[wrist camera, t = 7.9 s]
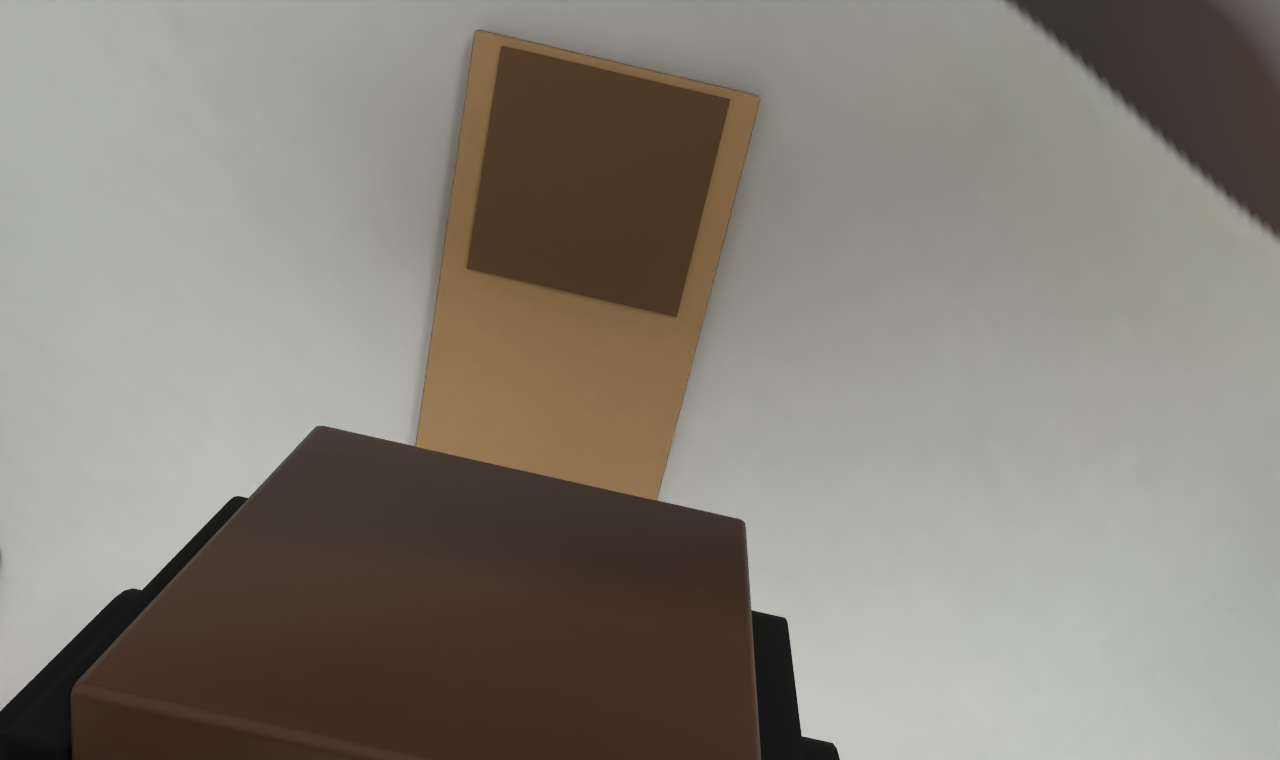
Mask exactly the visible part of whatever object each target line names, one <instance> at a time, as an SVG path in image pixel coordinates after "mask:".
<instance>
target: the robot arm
mask: <svg viewBox="0 0 1280 760" xmlns="http://www.w3.org/2000/svg"><path fill="white" fill-rule="evenodd" d="M247 499H248V498H245V497H240V496H236V497H233V498H232V499H231V500H229V501H228V502H227V503H226V505H225V506H224V507H223V508H222V509H221V510H220V511H219V512H218V513H217V514H216V515H215V516H214V517H213V518H212V519H211V520H210V521H209V522H208V523H207V524H206V525H205V526H204V527H203V528H202V529H201V530H200V531H199V532H198V533H197V534H196V535H195V536H194V537H193V538H192V539H191V540H190V541H189V543H188V544H187V545H186V546H185V547H184V548H183V549H182V550H181V551H180V552H179V553H178V554H177V555H176V556H175V557H174V558H173V559H172V560H171V561H170V562H169V563H168V564H167V565H166V566H165V567H164V568H163V569H162V570H161V571H160V572H159V573H158V574H157V575H156V576H155V577H154V578H153V580H152V581H151V582H150V583H149V584H148V585H147V586H146V587H145V588H144V589H143V590H138V589H129V590H125V591H123V592H122V593H121V594H119V595H118V596H117V597H115V598H114V599H113V600H112V601H111V602H110V603H109V604H108V605H107V606H106V607H105V608H104V609H103V610H102V611H101V612H100V613H99V614H98V615H97V616H96V617H95V618H94V619H93V620H92V621H91V622H90V623H89V624H88V625H87V626H86V627H85V628H84V629H83V630H82V631H81V632H80V633H79V634H78V635H77V636H76V637H75V638H74V639H73V640H72V641H71V642H70V643H69V644H68V645H67V646H66V647H65V648H64V649H63V650H62V651H61V652H60V653H59V654H58V655H57V656H56V657H55V658H54V659H53V660H52V661H51V662H50V663H49V664H48V665H47V666H46V667H45V668H44V669H43V670H42V671H41V672H40V673H39V674H37V675H36V676H35V677H34V678H33V679H32V680H31V681H30V682H29V683H28V684H27V685H26V686H25V687H24V688H23V689H22V690H21V691H20V692H19V693H18V694H17V695H16V696H15V697H14V698H13V699H12V700H11V701H10V702H9V703H8V704H7V705H6V706H5V707H4V708H3V709H2V710H1V711H0V760H72V739H71V692H72V689H73V687H74V685H75V683H76V682H77V681H78V679H79V678H80V677H81V676H82V675H83V674H84V673H85V672H86V671H87V670H88V669H89V668H90V667H91V666H92V665H93V664H94V662H95V661H96V660H97V659H98V658H99V657H100V656H101V655H102V654H103V653H104V652H105V651H106V650H107V649H108V648H109V646H110V645H111V644H112V643H113V642H114V641H115V640H116V639H117V638H118V637H119V636H120V635H121V634H122V633H123V632H124V631H125V629H126V628H127V627H128V626H129V625H130V624H131V623H132V622H133V621H134V620H135V619H136V618H137V617H138V616H139V615H140V613H141V612H142V611H143V610H144V609H145V608H146V607H147V606H148V605H149V604H150V603H151V602H152V601H153V600H154V599H155V597H156V596H157V595H158V594H159V593H160V592H161V591H162V590H163V589H164V588H165V587H166V586H167V585H168V584H169V583H170V582H171V580H172V579H173V578H174V577H175V576H176V575H177V574H178V573H179V572H180V571H181V570H182V569H183V568H184V567H185V566H186V564H187V563H188V562H189V561H190V560H191V559H192V558H193V557H194V556H195V555H196V554H197V553H198V552H199V551H200V550H201V548H202V547H203V546H204V545H205V544H206V543H207V542H208V541H209V540H210V539H211V538H212V537H213V536H214V535H215V534H216V533H217V531H218V530H219V529H220V528H221V527H222V526H223V525H224V524H225V523H226V522H227V521H228V520H229V519H230V518H231V517H232V515H233V514H234V513H235V512H236V511H237V510H238V509H239V508H240V507H241V506H242V505H243V504H244V503H245V502H246V501H247ZM751 614H752V629H753V644H754V659H755V674H756V689H757V704H758V719H759V734H760V748H761V760H840V759H839V755H838V752H837V748H836V747H835V746H834V744H833V743H829V742H825V741H820V740H816V739H811V738H807V737H802V736H801V729H800V721H799V713H798V704H797V696H796V688H795V680H794V672H793V664H792V655H791V647H790V639H789V631H788V624H787V620H786V619H785V618H783V617H779V616H774V615H770V614H765V613H761V612H756V611H752V610H751Z"/></svg>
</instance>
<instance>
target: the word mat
mask: <svg viewBox="0 0 1280 760" xmlns="http://www.w3.org/2000/svg"><path fill="white" fill-rule="evenodd" d="M759 102H760V97H759V96H758V95H753V94H749V93H745V92H741V91H736V90H732V89H728V88H724V87H719V86H715V85H711V84H707V83H702V82H698V81H694V80H690V79H685V78H681V77H677V76H673V75H669V74H664V73H660V72H656V71H652V70H647V69H643V68H639V67H635V66H630V65H626V64H622V63H618V62H613V61H609V60H605V59H601V58H596V57H592V56H588V55H584V54H579V53H575V52H571V51H567V50H562V49H558V48H554V47H550V46H545V45H541V44H537V43H533V42H529V41H524V40H520V39H516V38H512V37H507V36H503V35H499V34H495V33H490V32H486V31H482V30H476V31H475V34H474V41H473V48H472V55H471V62H470V69H469V76H468V83H467V90H466V97H465V104H464V111H463V118H462V125H461V132H460V139H459V146H458V153H457V160H456V167H455V174H454V181H453V188H452V195H451V201H450V208H449V215H448V222H447V229H446V236H445V243H444V250H443V257H442V264H441V271H440V278H439V285H438V292H437V299H436V306H435V313H434V320H433V327H432V334H431V341H430V348H429V355H428V362H427V369H426V376H425V383H424V390H423V397H422V404H421V411H420V418H419V425H418V432H417V439H416V446H415V447H420V448H424V449H429V450H433V451H438V452H442V453H447V454H451V455H456V456H460V457H464V458H469V459H473V460H478V461H482V462H487V463H491V464H496V465H500V466H505V467H509V468H514V469H518V470H523V471H527V472H531V473H536V474H540V475H545V476H549V477H554V478H558V479H563V480H567V481H572V482H576V483H581V484H585V485H589V486H594V487H598V488H603V489H607V490H612V491H616V492H621V493H625V494H630V495H634V496H639V497H643V498H648V499H652V500H656V501H657V498H658V494H659V490H660V486H661V482H662V478H663V474H664V471H665V467H666V463H667V459H668V455H669V451H670V447H671V443H672V439H673V436H674V432H675V428H676V424H677V420H678V416H679V412H680V408H681V405H682V401H683V397H684V393H685V389H686V385H687V381H688V377H689V374H690V370H691V366H692V362H693V358H694V354H695V350H696V346H697V342H698V339H699V335H700V331H701V327H702V323H703V319H704V315H705V311H706V308H707V304H708V300H709V296H710V292H711V288H712V284H713V280H714V277H715V273H716V269H717V265H718V261H719V257H720V253H721V249H722V246H723V242H724V238H725V234H726V230H727V226H728V222H729V218H730V214H731V211H732V207H733V203H734V199H735V195H736V191H737V187H738V183H739V180H740V176H741V172H742V168H743V164H744V160H745V156H746V152H747V149H748V145H749V141H750V137H751V133H752V129H753V125H754V121H755V117H756V114H757V110H758V106H759Z"/></svg>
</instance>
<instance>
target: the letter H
mask: <svg viewBox="0 0 1280 760" xmlns="http://www.w3.org/2000/svg"><path fill="white" fill-rule="evenodd" d="M71 739H72V760H761V748H760V734H759V719H758V704H757V689H756V674H755V659H754V644H753V629H752V614H751V599H750V584H749V569H748V554H747V539H746V526H745V522H744V521H742V520H740V519H737V518H732V517H728V516H723V515H719V514H714V513H710V512H706V511H701V510H697V509H692V508H688V507H683V506H679V505H674V504H670V503H665V502H661V501H656V500H652V499H648V498H643V497H639V496H634V495H630V494H625V493H621V492H616V491H612V490H607V489H603V488H598V487H594V486H589V485H585V484H581V483H576V482H572V481H567V480H563V479H558V478H554V477H549V476H545V475H540V474H536V473H531V472H527V471H523V470H518V469H514V468H509V467H505V466H500V465H496V464H491V463H487V462H482V461H478V460H473V459H469V458H464V457H460V456H456V455H451V454H447V453H442V452H438V451H433V450H429V449H424V448H420V447H415V446H411V445H406V444H402V443H398V442H393V441H389V440H384V439H380V438H375V437H371V436H366V435H362V434H357V433H353V432H348V431H344V430H339V429H335V428H331V427H326V426H317V427H315V428H314V429H313V430H312V431H311V432H310V433H309V435H308V436H307V437H306V438H305V439H304V440H303V441H302V442H301V443H300V444H299V445H298V446H297V447H296V448H295V449H294V451H293V452H292V453H291V454H290V455H289V456H288V457H287V458H286V459H285V460H284V461H283V462H282V463H281V464H280V465H279V466H278V468H277V469H276V470H275V471H274V472H273V473H272V474H271V475H270V476H269V477H268V478H267V479H266V480H265V481H264V482H263V484H262V485H261V486H260V487H259V488H258V489H257V490H256V491H255V492H254V493H253V494H252V495H251V496H250V497H249V498H248V499H247V501H246V502H245V503H244V504H243V505H242V506H241V507H240V508H239V509H238V510H237V511H236V512H235V513H234V514H233V515H232V517H231V518H230V519H229V520H228V521H227V522H226V523H225V524H224V525H223V526H222V527H221V528H220V529H219V530H218V531H217V533H216V534H215V535H214V536H213V537H212V538H211V539H210V540H209V541H208V542H207V543H206V544H205V545H204V546H203V547H202V548H201V550H200V551H199V552H198V553H197V554H196V555H195V556H194V557H193V558H192V559H191V560H190V561H189V562H188V563H187V564H186V566H185V567H184V568H183V569H182V570H181V571H180V572H179V573H178V574H177V575H176V576H175V577H174V578H173V579H172V580H171V582H170V583H169V584H168V585H167V586H166V587H165V588H164V589H163V590H162V591H161V592H160V593H159V594H158V595H157V596H156V597H155V599H154V600H153V601H152V602H151V603H150V604H149V605H148V606H147V607H146V608H145V609H144V610H143V611H142V612H141V613H140V615H139V616H138V617H137V618H136V619H135V620H134V621H133V622H132V623H131V624H130V625H129V626H128V627H127V628H126V629H125V631H124V632H123V633H122V634H121V635H120V636H119V637H118V638H117V639H116V640H115V641H114V642H113V643H112V644H111V645H110V646H109V648H108V649H107V650H106V651H105V652H104V653H103V654H102V655H101V656H100V657H99V658H98V659H97V660H96V661H95V662H94V664H93V665H92V666H91V667H90V668H89V669H88V670H87V671H86V672H85V673H84V674H83V675H82V676H81V677H80V678H79V679H78V681H77V682H76V683H75V685H74V687H73V689H72V692H71Z"/></svg>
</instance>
